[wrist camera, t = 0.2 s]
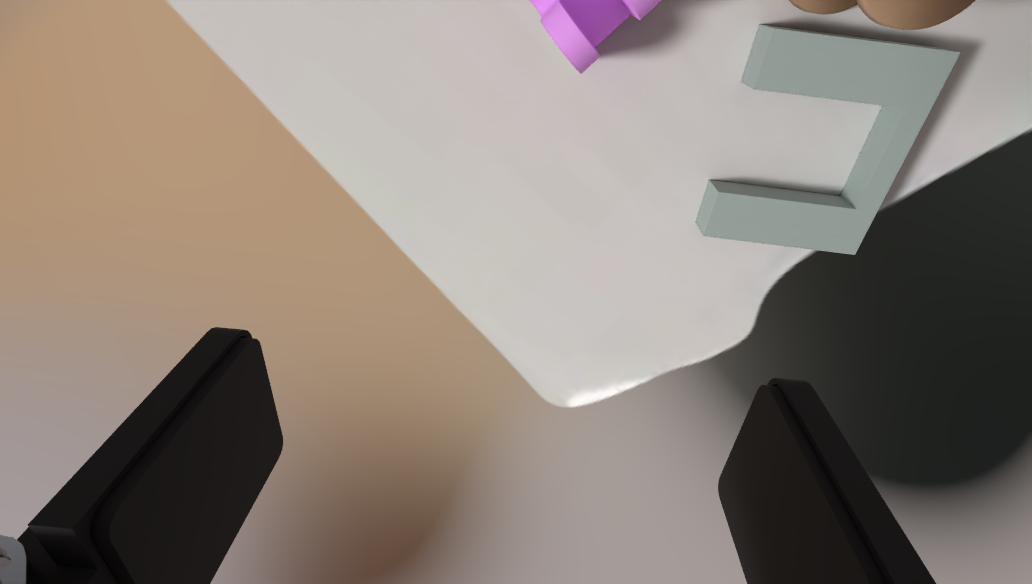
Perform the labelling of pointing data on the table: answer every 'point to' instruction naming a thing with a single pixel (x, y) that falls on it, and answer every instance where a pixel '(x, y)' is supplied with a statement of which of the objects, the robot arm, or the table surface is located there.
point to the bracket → (586, 24)
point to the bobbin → (892, 10)
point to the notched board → (905, 106)
